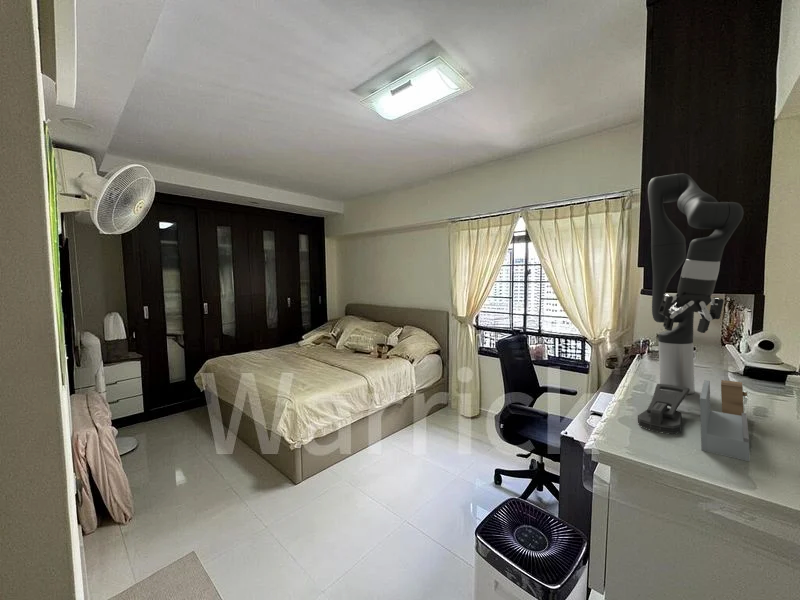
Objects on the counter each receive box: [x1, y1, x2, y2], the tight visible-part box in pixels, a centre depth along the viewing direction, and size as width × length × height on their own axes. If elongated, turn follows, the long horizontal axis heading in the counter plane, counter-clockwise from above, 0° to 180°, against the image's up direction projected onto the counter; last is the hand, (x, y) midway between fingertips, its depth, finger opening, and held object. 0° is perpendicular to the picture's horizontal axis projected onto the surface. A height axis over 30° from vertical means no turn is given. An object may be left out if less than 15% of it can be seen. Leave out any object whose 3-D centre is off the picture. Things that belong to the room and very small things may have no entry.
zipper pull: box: [637, 383, 690, 435], centre depth 90 cm, size 9×7×25 cm
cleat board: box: [699, 379, 751, 462], centre depth 76 cm, size 18×7×12 cm, turn 134°
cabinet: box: [720, 379, 748, 416], centre depth 87 cm, size 5×5×10 cm
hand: (684, 330), depth 93 cm, fingers open, 8 cm apart
